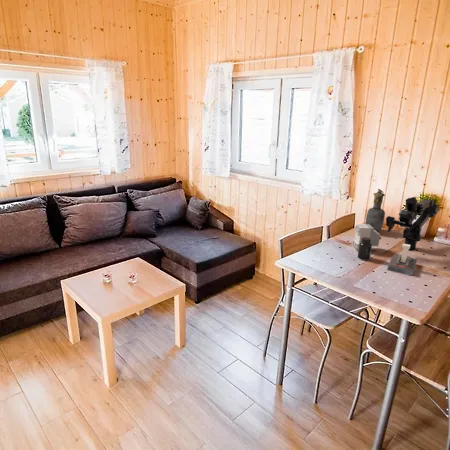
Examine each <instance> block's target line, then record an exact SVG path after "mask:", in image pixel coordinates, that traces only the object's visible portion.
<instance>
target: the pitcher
mask: <svg viewBox="0 0 450 450" xmlns="http://www.w3.org/2000/svg"><path fill="white" fill-rule="evenodd" d="M373 195H374V196H373V207H371V208H369V209H368V210H367V213H366V218H365V223H364V224H369V225H370V226H372V227H373V228H374V230H376V231H377V232H378V233H380V230H382V228H383V225H384V221H385V214H386V212H385V210H384V209H382V204H383V202H384V201H383V200H384V197H385V196H386V194H385V192H384V191H383V190H381V189H380V188H378V189H377V192H375V193H373Z"/></svg>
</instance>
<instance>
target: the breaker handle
mask: <svg viewBox="0 0 450 450" xmlns="http://www.w3.org/2000/svg"><path fill="white" fill-rule="evenodd" d="M401 249H402V253H401V261H400V262H403V263H405V262H406V258H407V257H408V253H409V250H408V249H410V245H409V244H404V243H403V244H402V246H401Z"/></svg>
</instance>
